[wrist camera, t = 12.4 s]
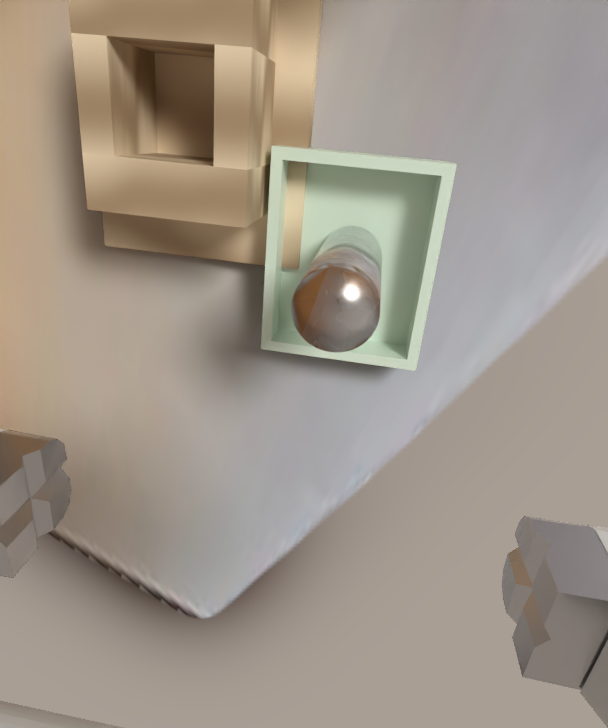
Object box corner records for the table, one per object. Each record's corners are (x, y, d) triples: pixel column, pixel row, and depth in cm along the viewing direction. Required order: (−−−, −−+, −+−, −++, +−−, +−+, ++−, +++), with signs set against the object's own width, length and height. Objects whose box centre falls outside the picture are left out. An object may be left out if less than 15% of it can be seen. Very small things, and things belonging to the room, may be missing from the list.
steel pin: (323, 222, 29) (294, 261, 20) (386, 229, 28) (386, 273, 19) (317, 283, 30) (287, 346, 21) (377, 291, 30) (373, 358, 21)
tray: (281, 144, 28) (271, 145, 26) (450, 161, 27) (456, 164, 25) (270, 332, 33) (260, 349, 30) (413, 352, 32) (415, 370, 29)
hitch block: (88, -82, 25) (7, -141, 20) (328, -68, 24) (311, -127, 19) (112, 242, 32) (56, 264, 26) (300, 265, 31) (282, 293, 25)
